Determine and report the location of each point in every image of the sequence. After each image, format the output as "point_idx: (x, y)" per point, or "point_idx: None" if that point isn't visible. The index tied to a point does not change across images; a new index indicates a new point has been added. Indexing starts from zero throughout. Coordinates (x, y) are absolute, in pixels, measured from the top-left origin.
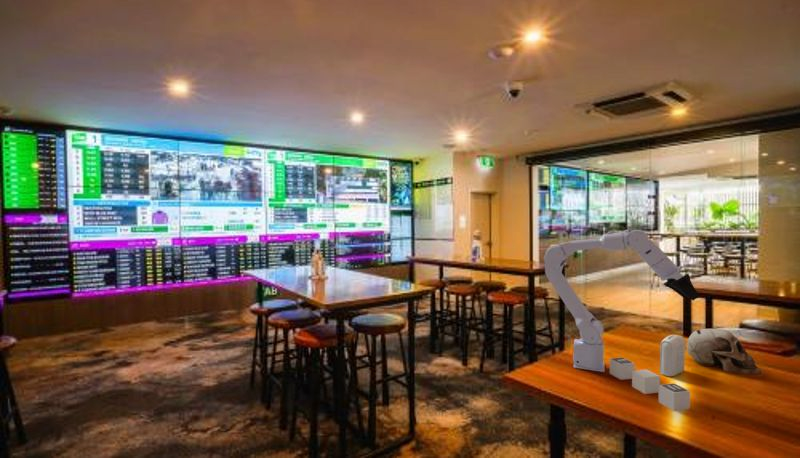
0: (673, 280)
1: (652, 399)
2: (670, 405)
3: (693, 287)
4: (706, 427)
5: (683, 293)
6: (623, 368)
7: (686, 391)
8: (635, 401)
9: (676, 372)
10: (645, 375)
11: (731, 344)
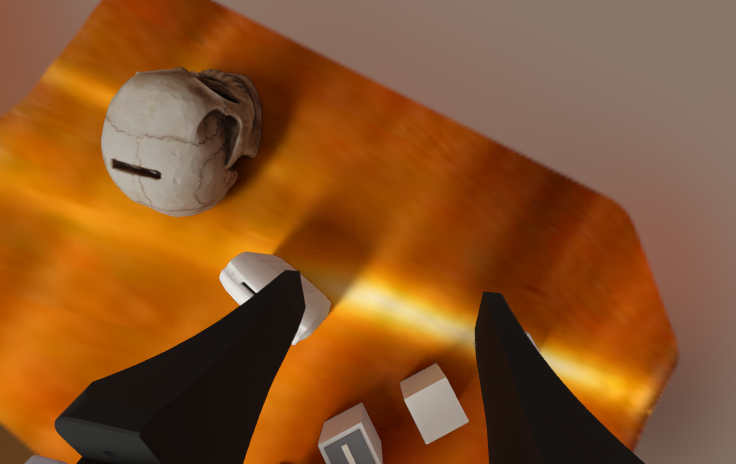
0: (204, 457)
1: None
2: None
3: (541, 359)
4: (586, 321)
5: (286, 328)
6: (378, 451)
7: (532, 341)
8: None
9: (316, 288)
10: (452, 416)
11: (222, 110)
